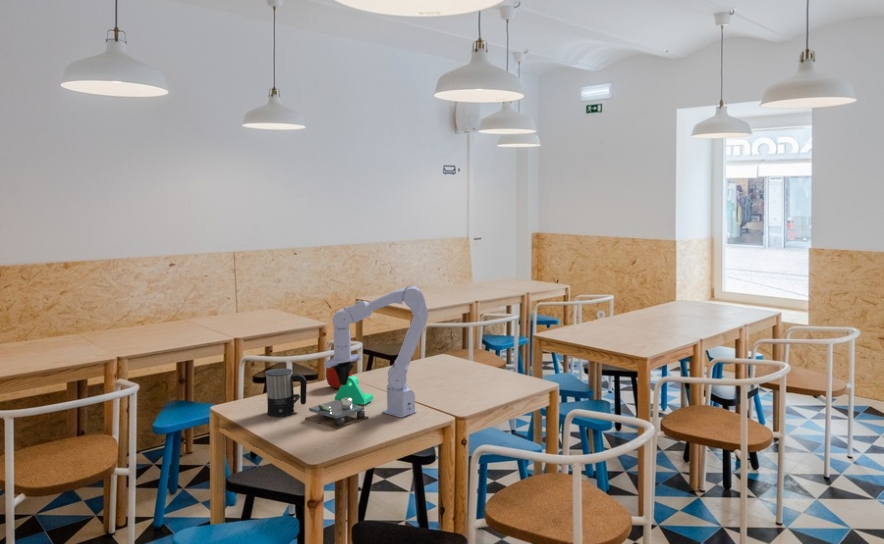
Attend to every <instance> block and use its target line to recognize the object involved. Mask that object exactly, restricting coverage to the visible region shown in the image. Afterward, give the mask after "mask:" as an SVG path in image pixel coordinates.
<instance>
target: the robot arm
mask: <svg viewBox="0 0 884 544" xmlns="http://www.w3.org/2000/svg"><path fill="white" fill-rule="evenodd" d="M403 302H404V303H405V305H406V306H407V308H409V309H410V311H411V313H412V315H413V316H412V320H411V323H410V325H409V327H408V330H407V332H406V335H405V337H404V340H403V343H402V345H401V347H400V350H399V352H398V356H397V357H396V359H395V360H394V363H393V364H392V366H390V367H389V369H388V371H387V376H388V378H387V382H388V384H387V385H386V409H383V410H381V413H383V414H385V415H386V414H387V415H391V416H394V417H397V418H405V417H406V416H410V415H412V414H415V413H417V412H418V411H417V410H416V401H415V400H416V396H415V392H414V391H413V390H412V389H410V388H409V385H408V383H407V374H408V371H409V367H410V363H411V361H412V358H413V356H414V354H415V351H416V348H417V346H418V343H419V341H420V338H421V336H422V333H423V331H424V328H425V326H426V323H427V321H428V318H429V313H428V308H427V303H426V299H425V296H424V294H423V293H422V291H421V290H420V288H419V287H418V286H416V285H412V284H411V285H408V286H406V287H400V288H399V289H395V290H393V291H391V292H388V293H386V294H384V295H382V296H380V297H377V298H375V299H374V300H371V301H366V300H362V301H361V300H357V301H356V303H354V304H353V305H349V306H348V307H347V306H344V307H343V309H338V310H337V311H336V312H335V313H334V315H332V316H333V317H332V324H333V357H332V358H331V359H329V360H325V361H324V363H323V366H324V368H325V369H326V368H330V367H332V366H333V368H334V370H335V371H336V373H337V376H338V379H339V382H340V385H347V381H348V377H349V374H350V371H351V372H352V370H353V368H354V363H351V362H357V361H361V354H358V353H355V354H352V345H351V344H352V341H351V335H352V334H351V331H350V329H351V327H350V324H354V323H357V322H360V321H362V320H363V319H364V320H365V319H366V318H369V317H371V316H372V313H373V311H376V310H380V309H381V308H384V307H387V306H389V305H392V304H399V305H403Z"/></svg>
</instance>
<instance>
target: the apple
mask: <svg viewBox="0 0 884 544" xmlns="http://www.w3.org/2000/svg"><path fill="white" fill-rule="evenodd" d="M325 369H326V370H325V377H326V382H327V385H329V386H330V387H331V388H333V389H338V390H339V389H340V387H341V385H340V382H339V379H338V376H337V373H336V371H335V370H334V368H333V366H332V367H330V368H326V367H325ZM350 376H353V373H352V370H351V371H350V374H349V377H350Z"/></svg>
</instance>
